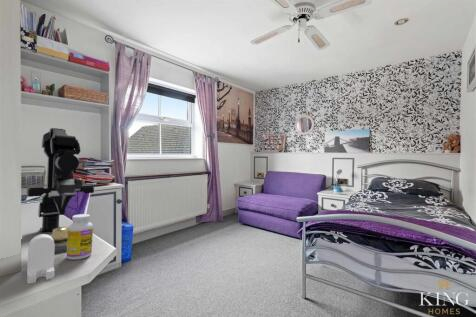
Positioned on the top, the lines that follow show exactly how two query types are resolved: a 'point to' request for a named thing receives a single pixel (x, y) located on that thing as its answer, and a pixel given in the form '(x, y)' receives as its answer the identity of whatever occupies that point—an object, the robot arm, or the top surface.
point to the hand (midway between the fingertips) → (61, 214)
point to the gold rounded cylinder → (60, 234)
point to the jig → (60, 247)
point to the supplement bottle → (79, 237)
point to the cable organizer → (40, 258)
